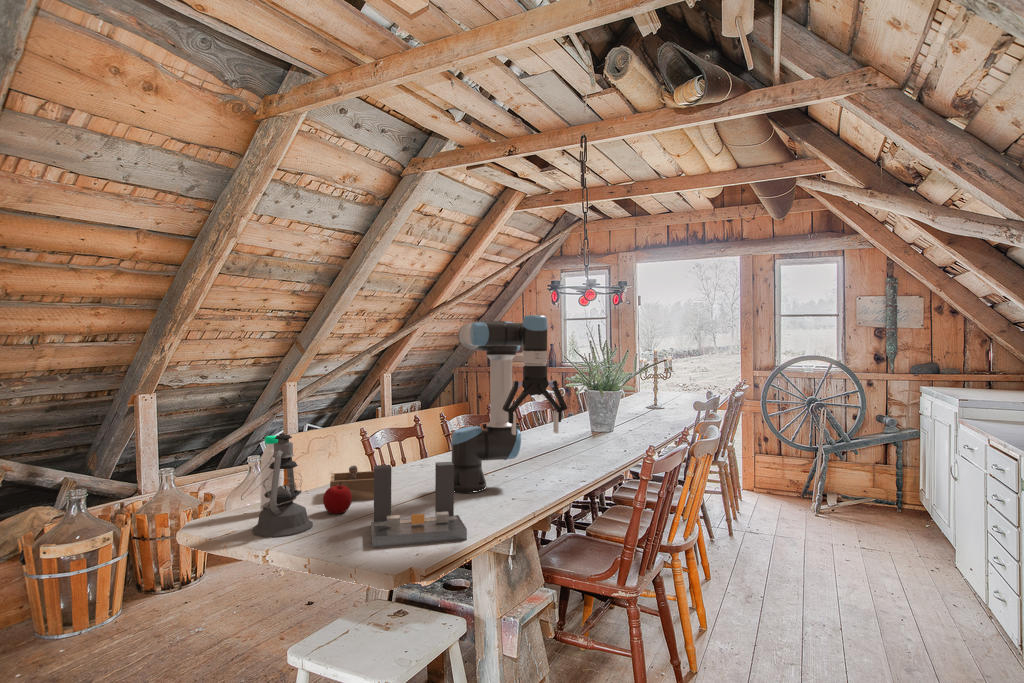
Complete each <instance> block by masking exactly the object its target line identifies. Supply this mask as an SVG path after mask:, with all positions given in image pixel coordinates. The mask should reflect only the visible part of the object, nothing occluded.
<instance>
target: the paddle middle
mask: <svg viewBox="0 0 1024 683" xmlns="http://www.w3.org/2000/svg"><path fill="white" fill-rule="evenodd" d="M410 516H411V517H410V519H411V524H421V523H424V518H425V513H418V514H411V515H410Z"/></svg>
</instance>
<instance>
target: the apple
mask: <svg viewBox="0 0 1024 683" xmlns="http://www.w3.org/2000/svg"><path fill="white" fill-rule="evenodd" d="M341 483H342V482H340V485H338V486H333V487H330V486H329V488H327V489H326V491H325V492H324V494H323V497H322V500H323V505H324V508H325V510H326V511H327V512H328V513H330V514H333V515H337V514H341V513H342V514H343V513H345V512H346V511H347V510H348V509H349V508H350V507H351V504H352V501H353V500H352V495H351V492H350V490H349V488H348V487H346V486H342V485H341Z"/></svg>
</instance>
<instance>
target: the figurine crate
mask: <svg viewBox="0 0 1024 683" xmlns="http://www.w3.org/2000/svg"><path fill="white" fill-rule="evenodd" d="M349 474H350V473H349V471H348V472H334V473H333V472H332V473H331V475H330V481H329V488H330V487H333V486H338V485H340V482H342V483H341V485H342V486H346V487H348V488H349V490H350V492H351V495H352V501H361V500H363V501H364V500H374V470H369V471H357V475H356V480H349V477H350V476H349Z"/></svg>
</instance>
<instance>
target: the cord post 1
mask: <svg viewBox="0 0 1024 683" xmlns="http://www.w3.org/2000/svg"><path fill="white" fill-rule="evenodd" d="M373 471H374V499H373V522H376V521H387V516H392V466H391V464H384V465H383V464H379V465H373Z"/></svg>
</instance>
